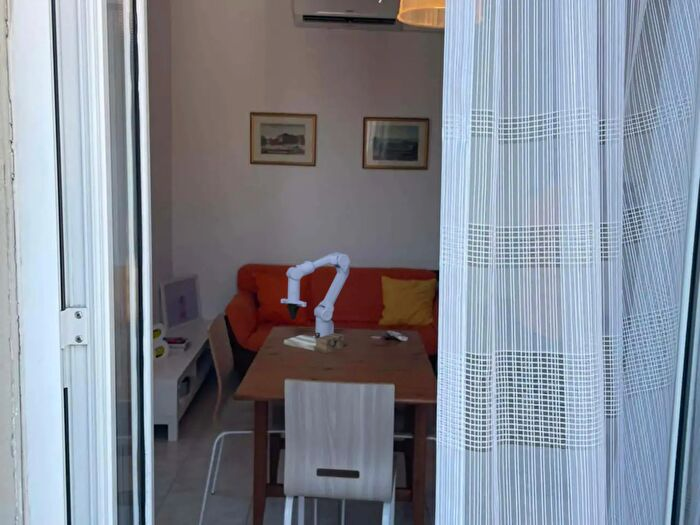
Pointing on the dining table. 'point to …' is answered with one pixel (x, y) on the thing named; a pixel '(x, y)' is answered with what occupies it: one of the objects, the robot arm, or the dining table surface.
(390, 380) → the dining table surface
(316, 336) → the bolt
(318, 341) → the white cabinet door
